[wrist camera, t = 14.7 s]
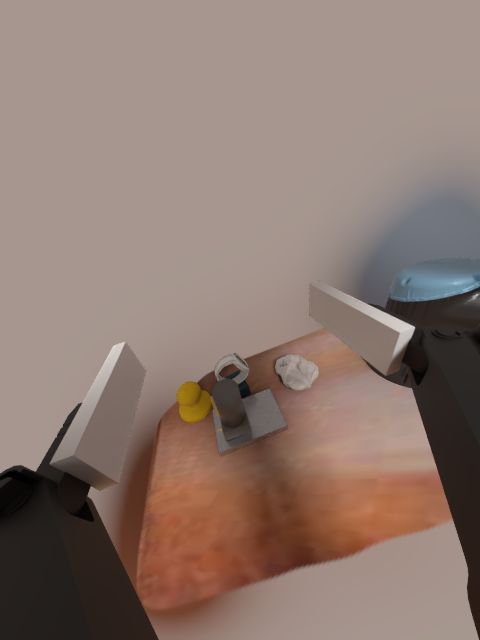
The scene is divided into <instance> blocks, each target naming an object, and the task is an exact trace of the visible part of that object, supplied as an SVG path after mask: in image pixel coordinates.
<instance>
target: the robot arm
mask: <svg viewBox="0 0 480 640" xmlns="http://www.w3.org/2000/svg"><path fill="white" fill-rule="evenodd" d="M388 296H389V297H388V301H387V305H386V308H383V307H381V306H378V305H373V304H366V303H364V302H362V301H360V300H358V299H356V298H353V297H352V296H349V295H347V294H345V293H343V292H341V291H339V290H337V289H335V288H333V287H330V286H329V285H327V284H324V283H322V282H320V281H316V282H313V283H310V284H309V316H311V317H312V318H313V319H315V320H316V321H317V322H318V323H320V324H321V325H322V326H323V327H325V328H326V329H327V330H328V331H330V332H331V333H332V334H333V335H335V336H336V337H337V338H338V339H340V340H341V341H342V342H343V343H345V344H346V345H347V346H348V347H350V348H351V349H352V350H354V351H355V352H356V353H357V354H359V355H360V356H361V357H362V358H364V359H365V360H366V361H367V363H368V364H369V366H370V367H371V368H372V369H373V370H374V371H375V372H376V373H378V374H379V375H380V376H382V377H384V378H385V379H387V380H389V381H391V382H394V383H396V384H399V385H402V386H406V387H410V388H412V390H413V393H414V396H415V399H416V402H417V406H418V409H419V412H420V415H421V418H422V422H423V425H424V428H425V431H426V434H427V438H428V441H429V444H430V447H431V450H432V454H433V457H434V460H435V463H436V466H437V470H438V473H439V476H440V479H441V482H442V486H443V489H444V492H445V495H446V498H447V502H448V505H449V508H450V511H451V514H452V518H453V521H454V524H455V527H456V530H457V534H458V537H459V540H460V543H461V546H462V549H463V553H464V556H465V559H466V563H467V567H468V574H469V575H468V585H467V591H468V600H469V604H470V609H471V613H472V616H473V620H474V623H475V627H476V630H477V634H478V637H479V640H480V260H479V259H475V260H470V259H469V258H447V259H436V260H429V261H424V262H419V263H416V264H413V265H410V266H407V267H405V268H403V269H402V270H400V271H399V272H398V273H397V274H396V275H395V277H394V280H393V283H392V286H391V288H390V290H389V291H388ZM145 373H146V370H145V368H144V367H143V365H142V364H141V363H140V361H139V360H138V358H137V357H136V355H135V354H134V353H133V351H132V350H131V348H130V347H129V346H128V344H127V343H126V342H123V343H120V344H117V345H114V346H113V348H112V349H111V352H110V353H109V355H108V357H107V359H106V360H105V363H104V364H103V366H102V368H101V370H100V372H99V374H98V375H97V377H96V379H95V381H94V383H93V384H92V386H91V388H90V390H89V392H88V394H87V395H86V397H85V399H84V401H83V403H80V404H78V406H76V408H75V409H74V410H73V411H72V412H71V413H70V414H69V415H68V417H67V419H66V421H65V423H64V424H63V428H61V429H60V431H59V433H58V435H57V437H56V438H55V440H54V442H53V443H52V445H51V447H50V448H49V450H48V452H47V453H46V455H45V457H44V459H43V461H42V462H41V464H40V466H39V467H38V469H37V471H36V472H34V471H32V470H30V469H28V468H26V467H24V466H22V465H19V466H13V467H11V468H9V469H7V470H5V471H3V472H2V473H0V640H159V639H158V638H157V635H156V633H155V631H154V629H153V627H152V625H151V623H150V621H149V618H148V616H147V614H146V612H145V610H144V608H143V606H142V604H141V602H140V600H139V598H138V595H137V593H136V591H135V589H134V587H133V585H132V583H131V581H130V579H129V577H128V574H127V572H126V570H125V568H124V566H123V564H122V562H121V560H120V558H119V556H118V554H117V552H116V549H115V547H114V545H113V543H112V541H111V539H110V537H109V535H108V533H107V530H106V529H105V526H104V525H103V522H102V520H101V518H100V516H99V514H98V512H97V510H96V507H95V505H94V503H93V501H92V500H91V499H90V498H89V497H87V495H88V492H89V489H90V486H92V487H94V488H95V489H97V490H99V491H101V490H103V489H105V488H108V487H110V486H113V485H115V484H118V483H119V479H120V475H121V471H122V467H123V463H124V459H125V455H126V451H127V447H128V442H129V439H130V434H131V431H132V426H133V422H134V418H135V414H136V410H137V406H138V402H139V398H140V394H141V390H142V386H143V382H144V377H145Z"/></svg>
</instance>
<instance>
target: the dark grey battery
mask: <svg viewBox="0 0 480 640" xmlns="http://www.w3.org/2000/svg"><path fill="white" fill-rule="evenodd" d="M211 394H212V396H210V399H211V403H212V405H213V408H214V410H215V413H216V415H217V417H219V416H220V420H221V426H222V431H223V435H224V437H225V440H226V441H227V440H230V439H233V438H236V437H238V436H241V435H244V434H246V433H249V432H252V431H251V427H250V423H249V420H248V417H247V414H246V411H245V407H244V404H243V401H242V399H241V395H240V391H239V388H238V384H237V383H236V382H235V381H234V380H232V379H223V380H220V381H218V382H217V383H216V384H215V385H214V386H213V388H212V392H211Z"/></svg>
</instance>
